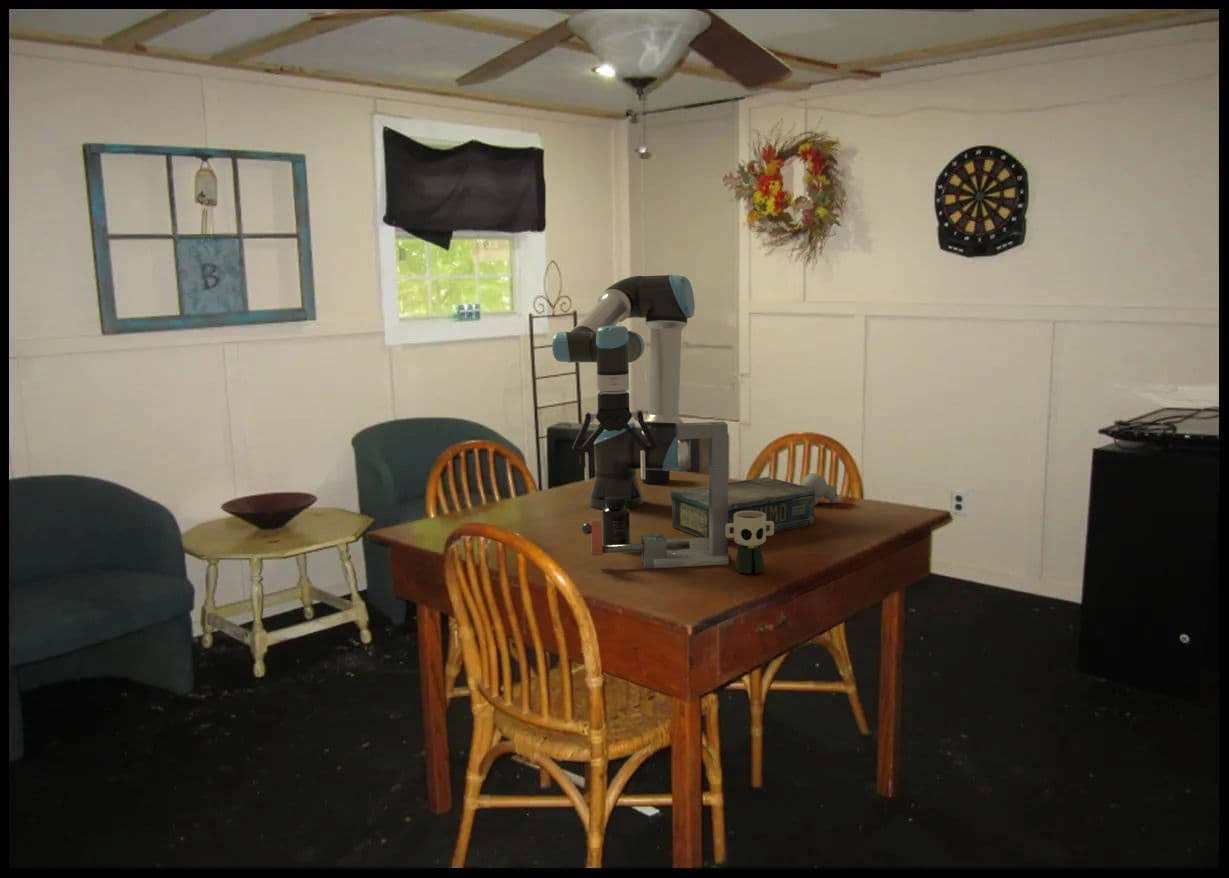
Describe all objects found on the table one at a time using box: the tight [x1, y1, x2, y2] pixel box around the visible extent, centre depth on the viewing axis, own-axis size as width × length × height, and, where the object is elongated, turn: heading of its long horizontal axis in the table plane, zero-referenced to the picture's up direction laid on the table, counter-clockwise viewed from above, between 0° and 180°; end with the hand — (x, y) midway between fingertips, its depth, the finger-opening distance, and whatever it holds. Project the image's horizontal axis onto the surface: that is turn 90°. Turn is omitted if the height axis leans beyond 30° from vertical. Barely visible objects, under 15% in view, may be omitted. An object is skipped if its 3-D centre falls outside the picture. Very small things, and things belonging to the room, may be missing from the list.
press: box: [640, 421, 729, 569], centre depth 229 cm, size 16×19×32 cm
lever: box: [581, 517, 690, 557], centre depth 225 cm, size 3×24×8 cm, turn 95°
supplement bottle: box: [601, 495, 631, 545], centre depth 242 cm, size 7×7×12 cm
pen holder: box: [641, 470, 671, 485], centre depth 311 cm, size 9×9×10 cm
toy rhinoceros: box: [800, 472, 843, 506], centre depth 279 cm, size 7×12×8 cm, turn 88°
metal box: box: [670, 476, 816, 542], centre depth 257 cm, size 21×32×10 cm, turn 121°
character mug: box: [725, 511, 775, 574], centre depth 218 cm, size 11×7×13 cm, turn 98°
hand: (615, 479), depth 240 cm, fingers open, 13 cm apart
